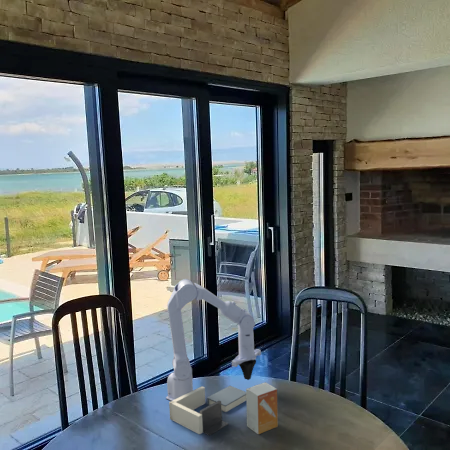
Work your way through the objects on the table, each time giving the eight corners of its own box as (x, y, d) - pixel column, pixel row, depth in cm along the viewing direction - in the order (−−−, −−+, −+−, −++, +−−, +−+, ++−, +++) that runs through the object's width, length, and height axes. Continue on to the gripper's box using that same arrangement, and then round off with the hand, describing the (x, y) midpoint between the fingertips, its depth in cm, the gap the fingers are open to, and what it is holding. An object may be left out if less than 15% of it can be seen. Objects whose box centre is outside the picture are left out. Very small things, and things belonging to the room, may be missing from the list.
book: (207, 405, 167) (207, 397, 166) (230, 393, 175) (229, 385, 175) (225, 413, 160) (225, 405, 160) (248, 400, 169) (248, 392, 169)
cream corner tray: (170, 419, 157) (169, 402, 157) (202, 402, 168) (201, 386, 168) (199, 434, 147) (198, 416, 147) (232, 415, 158) (231, 398, 158)
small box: (258, 435, 146) (257, 395, 144) (246, 426, 151) (245, 388, 150) (278, 426, 150) (277, 388, 149) (266, 418, 155) (265, 381, 154)
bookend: (200, 431, 149) (199, 410, 148) (219, 420, 155) (218, 400, 155) (209, 435, 146) (208, 414, 146) (228, 424, 153) (227, 404, 152)
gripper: (241, 352, 166) (242, 388, 167) (266, 340, 176) (267, 374, 178) (227, 347, 171) (228, 383, 172) (252, 336, 181) (253, 370, 183)
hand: (247, 378), depth 175 cm, fingers closed
